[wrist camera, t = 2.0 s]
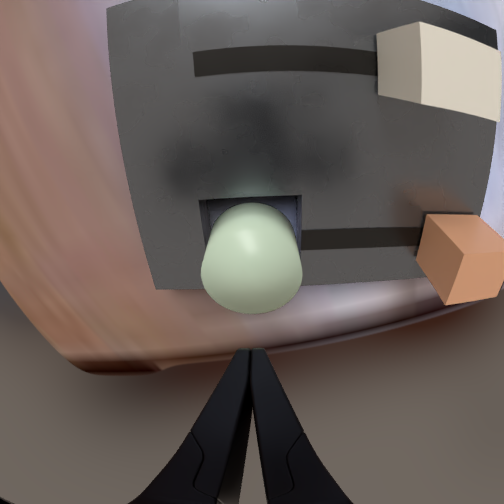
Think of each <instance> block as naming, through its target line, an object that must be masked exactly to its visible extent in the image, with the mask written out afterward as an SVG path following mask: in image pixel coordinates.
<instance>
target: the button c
mask: <svg viewBox="0 0 504 504" xmlns="http://www.w3.org/2000/svg"><path fill="white" fill-rule="evenodd" d="M201 279H202V283H203V285H204V288H205V290H206V291H207V293H208V294H209V295H210V297H211V298H212V299H213V300H214V301H216V302H217V303H218V304H220V305H221V306H223V307H225V308H227V309H229V310H232V311H235V312H239V313H244V314H261V313H266V312H270V311H273V310H276V309H278V308H280V307H282V306H283V305H285V304H286V303H288V302H289V301H290V300H291V299H292V298H293V297H294V296H295V294H296V293H297V291H298V289H299V287H300V285H301V282H302V266H301V261H300V256H299V251H298V247H297V242H296V237H295V233H294V229H293V227H292V225H291V223H290V221H289V220H288V218H287V217H286V216H285V215H284V214H283V213H281V212H280V211H279V210H277V209H275V208H274V207H271V206H269V205H266V204H262V203H243V204H239V205H236V206H233V207H231V208H229V209H228V210H226V211H225V212H223V213H222V214H221V215H220V216H219V217H218V219H217V220H216V221H215V223H214V225H213V227H212V230H211V233H210V237H209V241H208V244H207V248H206V251H205V255H204V259H203V262H202V267H201Z"/></svg>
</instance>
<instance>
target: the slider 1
mask: <svg viewBox="0 0 504 504" xmlns="http://www.w3.org/2000/svg"><path fill="white" fill-rule="evenodd" d="M376 35H377V57H378V95H381V96H387V97H392V98H397V99H401V100H406V101H410V102H415V103H419V104H424V105H429V106H435V107H440V108H445V109H450V110H454V111H459V112H463V113H467V114H471V115H475V116H479V117H483V118H486V119H490V120H493V121H497V122H500V109H501V83H502V72H501V52H500V51H498V50H496V49H494V48H492V47H490V46H487V45H485V44H483V43H480V42H478V41H476V40H473V39H471V38H468V37H465V36H463V35H460V34H457V33H455V32H452V31H449V30H446V29H443V28H440V27H437V26H433V25H430V24H427V23H423V22H415V23H411V24H408V25H404V26H400V27H397V28H393V29H390V30H386V31H383V32H380V33H377V34H376Z"/></svg>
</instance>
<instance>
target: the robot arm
mask: <svg viewBox="0 0 504 504" xmlns="http://www.w3.org/2000/svg"><path fill="white" fill-rule="evenodd" d="M252 409H253V414H254V421H255V427H256V434H257V442H258V447H259V455H260V461H261V468H262V475H263V481H264V487H265V494H266V500H267V504H353V503H352V502H351V500H350V499H349V498H348V497H347V496H346V495H345V493H344V492H343V491H342V490H341V488H340V487H339V486H338V484H337V483H336V481H335V480H334V479H333V477H332V476H331V475H330V473H329V472H328V471H327V469H326V468H325V466H324V465H323V464H322V462H321V461H320V459H319V457H318V456H317V455H316V453H315V451H314V449H313V447H312V445H311V444H310V442H309V440H308V438H307V436H306V434H305V433H304V430H303V428H302V426H301V424H300V422H299V420H298V418H297V416H296V414H295V412H294V410H293V408H292V406H291V404H290V402H289V400H288V398H287V395H286V393H285V392H284V389H283V387H282V385H281V383H280V381H279V379H278V377H277V375H276V373H275V370H274V368H273V366H272V364H271V362H270V360H269V358H268V356H267V353H266V351H265V350H264V349H263V348H253V349H249V348H240V349H238V350H237V351H236V353H235V355H234V356H233V358H232V360H231V362H230V364H229V365H228V367H227V369H226V371H225V372H224V374H223V376H222V377H221V379H220V381H219V383H218V384H217V386H216V388H215V390H214V391H213V393H212V395H211V396H210V398H209V400H208V402H207V403H206V405H205V407H204V408H203V410H202V411H201V413H200V415H199V417H198V418H197V420H196V422H195V423H194V425H193V427H192V428H191V430H190V431H191V432H189V433H188V435H187V436H186V438H185V440H184V441H183V443H182V444H181V446H180V447H179V449H178V450H177V452H176V453H175V454H174V456H173V457H172V458H171V460H170V461H169V462H168V464H167V465H166V466H165V467H164V468H163V469H162V471H161V472H160V473H159V474H158V475H157V476H156V477H155V479H154V480H153V481H152V482H151V483H150V484H149V486H148V487H147V488H146V489H145V490H144V491H143V492H142V493H141V494H140V495H139V496H138V497H137V498H135V499H134V500H133V501H131V502H130V503H128V504H239V498H240V492H241V486H242V479H243V473H244V466H245V459H246V452H247V446H248V439H249V431H250V424H251V418H252ZM0 504H14V503H12V502H10V501H8V500H5V499H4V498H1V497H0Z"/></svg>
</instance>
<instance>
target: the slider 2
mask: <svg viewBox="0 0 504 504" xmlns="http://www.w3.org/2000/svg"><path fill="white" fill-rule="evenodd" d="M416 261H417V263H418V264H419V266H420V267H421V269H422V270H423V272H424V273H425V275H426V276H427V278H428V279H429V281H430V282H431V284H432V285H433V287H434V288H435V290H436V291H437V293H438V295H439V296H440V298H441V299H442V301H443V303H444V304H445V305H450V304H457V303H463V302H469V301H475V300H481V299H486V298H492V297H496V296H497V294H498V292H499V290H500V288H501V285H502V283H503V281H504V239H503V238H502V237H501V236H500V235H499V234H498V233H497V232H496V231H494V230H493V229H492V228H491V227H490V226H489V225H488V224H487V223H486V222H484V221H483V220H482V219H481V218H480V217H479V216H478V215H454V214H426V219H425V224H424V228H423V233H422V237H421V241H420V245H419V249H418V253H417V257H416Z"/></svg>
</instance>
